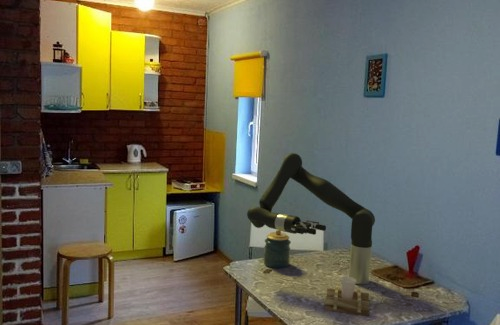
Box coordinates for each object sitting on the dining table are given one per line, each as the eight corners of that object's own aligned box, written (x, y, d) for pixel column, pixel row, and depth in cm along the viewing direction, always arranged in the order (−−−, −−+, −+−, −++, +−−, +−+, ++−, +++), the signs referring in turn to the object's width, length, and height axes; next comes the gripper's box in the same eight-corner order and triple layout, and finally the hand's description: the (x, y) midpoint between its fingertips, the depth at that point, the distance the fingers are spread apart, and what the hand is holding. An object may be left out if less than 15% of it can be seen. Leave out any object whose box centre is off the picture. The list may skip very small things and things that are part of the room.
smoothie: (343, 297, 200) (345, 265, 198) (357, 302, 196) (360, 269, 194) (335, 302, 195) (338, 268, 193) (350, 306, 191) (352, 273, 189)
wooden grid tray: (326, 293, 205) (327, 284, 205) (367, 299, 202) (368, 290, 202) (324, 310, 189) (325, 300, 188) (369, 316, 186) (370, 306, 185)
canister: (290, 269, 234) (292, 234, 232) (263, 267, 234) (265, 232, 232) (288, 260, 247) (290, 227, 244) (263, 259, 247) (265, 225, 245)
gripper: (279, 217, 204) (312, 224, 194) (296, 212, 215) (329, 218, 206) (278, 235, 205) (311, 242, 195) (295, 228, 216) (328, 235, 206)
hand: (320, 230), depth 200 cm, fingers open, 8 cm apart
